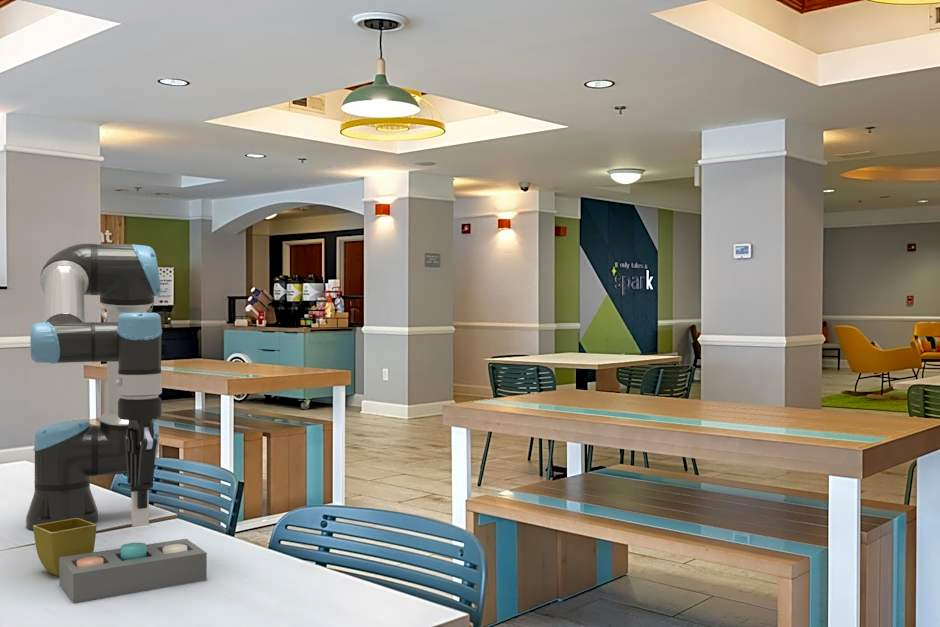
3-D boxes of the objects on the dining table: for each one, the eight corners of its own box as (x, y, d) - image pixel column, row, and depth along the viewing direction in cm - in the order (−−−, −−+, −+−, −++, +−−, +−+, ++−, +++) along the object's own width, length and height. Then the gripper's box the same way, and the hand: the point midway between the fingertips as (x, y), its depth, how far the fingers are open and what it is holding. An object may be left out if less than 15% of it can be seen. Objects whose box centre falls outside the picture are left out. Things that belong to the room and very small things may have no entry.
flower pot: (32, 572, 173) (31, 524, 172) (77, 562, 179) (77, 516, 179) (51, 581, 167) (51, 532, 166) (98, 571, 173) (98, 524, 173)
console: (59, 584, 165) (59, 557, 165) (186, 564, 178) (186, 538, 178) (73, 603, 155) (73, 573, 155) (206, 579, 168) (206, 552, 168)
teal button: (118, 562, 167) (118, 544, 167) (142, 558, 169) (142, 541, 169) (124, 568, 163) (124, 550, 163) (149, 564, 166) (149, 546, 166)
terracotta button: (74, 577, 163) (74, 559, 162) (100, 572, 165) (100, 555, 165) (79, 583, 159) (79, 565, 159) (106, 579, 161) (106, 561, 161)
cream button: (159, 563, 171) (159, 546, 171) (183, 559, 174) (183, 542, 174) (166, 569, 167) (166, 551, 167) (190, 565, 170) (190, 548, 170)
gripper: (109, 394, 170) (109, 520, 170) (128, 401, 159) (129, 535, 159) (150, 392, 174) (150, 515, 174) (171, 398, 163) (172, 529, 164)
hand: (140, 524), depth 167 cm, fingers closed
